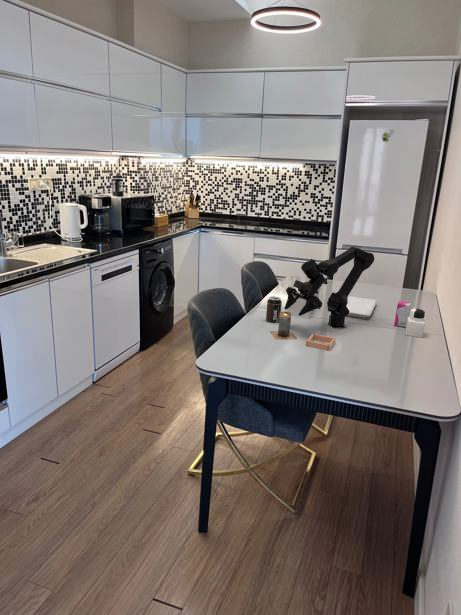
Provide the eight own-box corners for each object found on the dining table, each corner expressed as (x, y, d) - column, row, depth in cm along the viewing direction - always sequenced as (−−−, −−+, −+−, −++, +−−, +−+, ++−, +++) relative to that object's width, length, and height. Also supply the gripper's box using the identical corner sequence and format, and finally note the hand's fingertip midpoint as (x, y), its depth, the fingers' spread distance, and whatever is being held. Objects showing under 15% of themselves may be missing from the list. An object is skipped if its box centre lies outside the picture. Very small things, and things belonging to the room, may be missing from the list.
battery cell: (287, 333, 204) (289, 311, 201) (290, 337, 199) (292, 315, 196) (276, 333, 203) (278, 311, 200) (279, 337, 198) (281, 315, 195)
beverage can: (279, 325, 215) (281, 300, 211) (264, 323, 216) (266, 299, 213) (280, 320, 221) (282, 296, 218) (266, 319, 223) (268, 295, 219)
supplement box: (407, 324, 226) (411, 302, 223) (406, 328, 221) (410, 305, 217) (395, 322, 228) (398, 300, 225) (393, 326, 223) (397, 303, 220)
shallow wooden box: (311, 340, 199) (312, 333, 198) (334, 344, 195) (335, 338, 194) (305, 347, 190) (306, 340, 190) (329, 352, 187) (330, 345, 186)
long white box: (308, 318, 227) (310, 298, 224) (286, 315, 231) (288, 294, 227) (318, 302, 256) (320, 283, 253) (299, 299, 260) (301, 281, 256)
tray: (335, 316, 234) (336, 309, 233) (345, 300, 262) (346, 295, 261) (369, 321, 228) (370, 315, 227) (376, 305, 256) (376, 299, 255)
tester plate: (291, 332, 207) (291, 330, 206) (297, 340, 197) (297, 339, 197) (269, 332, 205) (269, 331, 205) (275, 341, 195) (275, 339, 195)
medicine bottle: (421, 333, 215) (426, 308, 212) (422, 338, 209) (427, 313, 205) (405, 330, 218) (409, 306, 214) (405, 335, 211) (410, 310, 208)
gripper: (290, 269, 205) (269, 295, 202) (320, 278, 190) (298, 307, 188) (302, 284, 212) (281, 310, 209) (331, 295, 197) (310, 322, 194)
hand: (292, 312), depth 200 cm, fingers open, 9 cm apart
